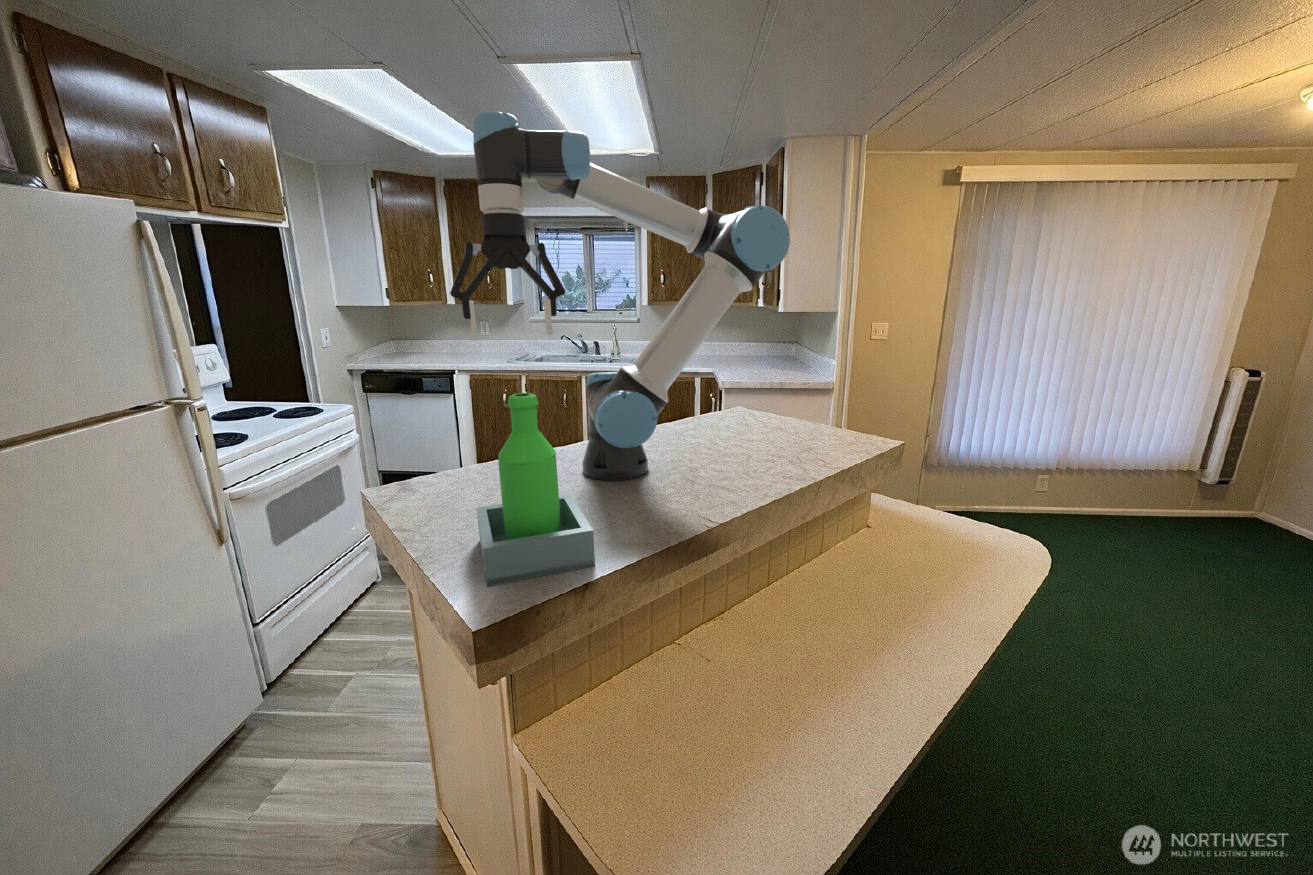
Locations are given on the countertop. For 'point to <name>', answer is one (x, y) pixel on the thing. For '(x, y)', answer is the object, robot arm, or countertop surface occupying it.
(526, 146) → the robot arm
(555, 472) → the bottle
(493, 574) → the bin
